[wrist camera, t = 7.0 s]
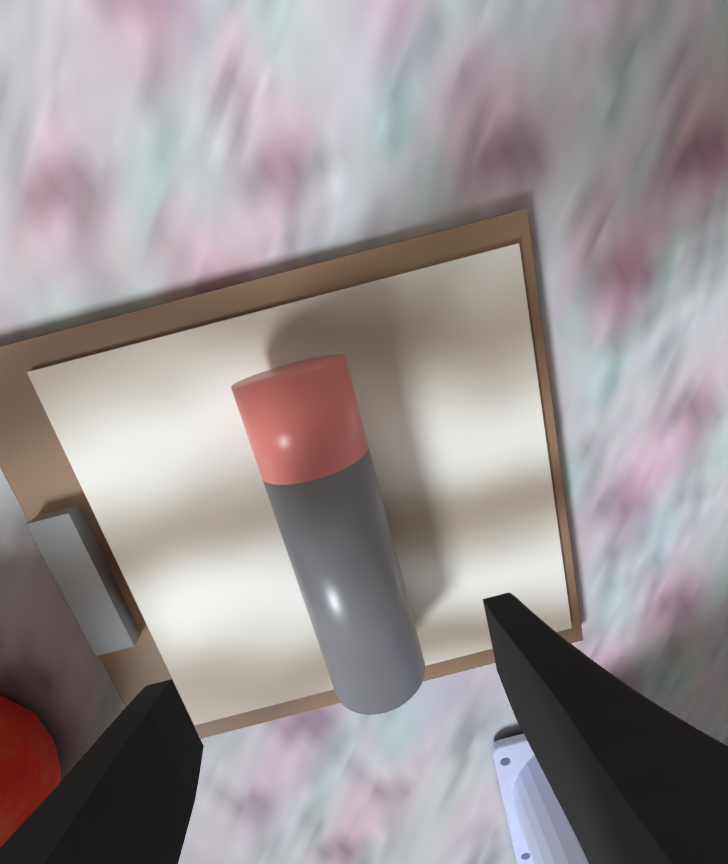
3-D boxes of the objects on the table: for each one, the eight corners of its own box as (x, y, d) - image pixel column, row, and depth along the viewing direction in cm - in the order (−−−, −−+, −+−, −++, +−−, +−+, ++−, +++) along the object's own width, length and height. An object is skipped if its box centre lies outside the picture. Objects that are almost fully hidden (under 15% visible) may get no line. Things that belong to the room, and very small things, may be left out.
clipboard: (576, 630, 21) (591, 651, 20) (154, 739, 21) (143, 767, 20) (520, 211, 16) (536, 204, 14) (-42, 359, 16) (-74, 364, 14)
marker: (396, 641, 20) (449, 693, 17) (325, 689, 19) (369, 756, 15) (316, 354, 16) (366, 354, 13) (219, 385, 15) (249, 393, 12)
